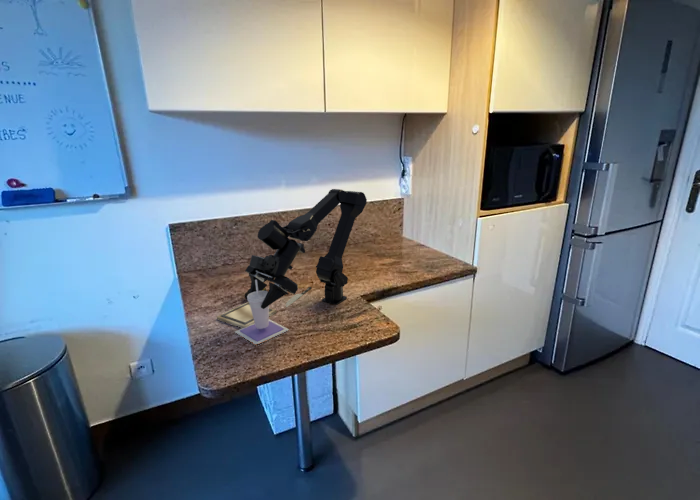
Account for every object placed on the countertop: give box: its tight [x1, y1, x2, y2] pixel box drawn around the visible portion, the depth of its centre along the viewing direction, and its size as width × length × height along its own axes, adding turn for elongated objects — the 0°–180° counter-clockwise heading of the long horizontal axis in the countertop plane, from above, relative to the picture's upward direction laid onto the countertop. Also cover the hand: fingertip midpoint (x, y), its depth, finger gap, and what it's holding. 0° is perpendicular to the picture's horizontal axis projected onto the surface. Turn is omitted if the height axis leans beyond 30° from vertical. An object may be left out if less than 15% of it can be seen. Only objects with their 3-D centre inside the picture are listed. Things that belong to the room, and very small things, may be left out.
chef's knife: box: [285, 286, 312, 308], centre depth 130 cm, size 19×1×3 cm
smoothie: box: [247, 280, 270, 329], centre depth 104 cm, size 6×6×14 cm
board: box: [216, 301, 277, 329], centre depth 116 cm, size 13×13×1 cm
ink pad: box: [234, 318, 290, 344], centre depth 106 cm, size 11×11×1 cm
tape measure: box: [244, 287, 268, 301], centre depth 129 cm, size 7×7×4 cm
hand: (255, 304), depth 103 cm, fingers closed on smoothie, 6 cm apart
